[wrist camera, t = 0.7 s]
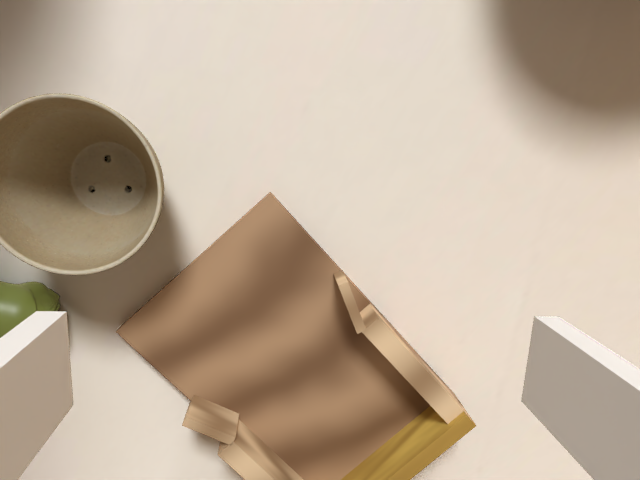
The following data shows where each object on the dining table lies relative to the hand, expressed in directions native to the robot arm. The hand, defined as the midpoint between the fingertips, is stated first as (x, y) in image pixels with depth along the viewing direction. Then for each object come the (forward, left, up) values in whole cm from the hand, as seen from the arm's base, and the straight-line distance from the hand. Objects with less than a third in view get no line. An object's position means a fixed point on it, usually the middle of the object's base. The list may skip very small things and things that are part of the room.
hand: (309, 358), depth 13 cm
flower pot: (-11, -7, -22) cm, 26 cm away
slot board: (+8, -7, -22) cm, 24 cm away
